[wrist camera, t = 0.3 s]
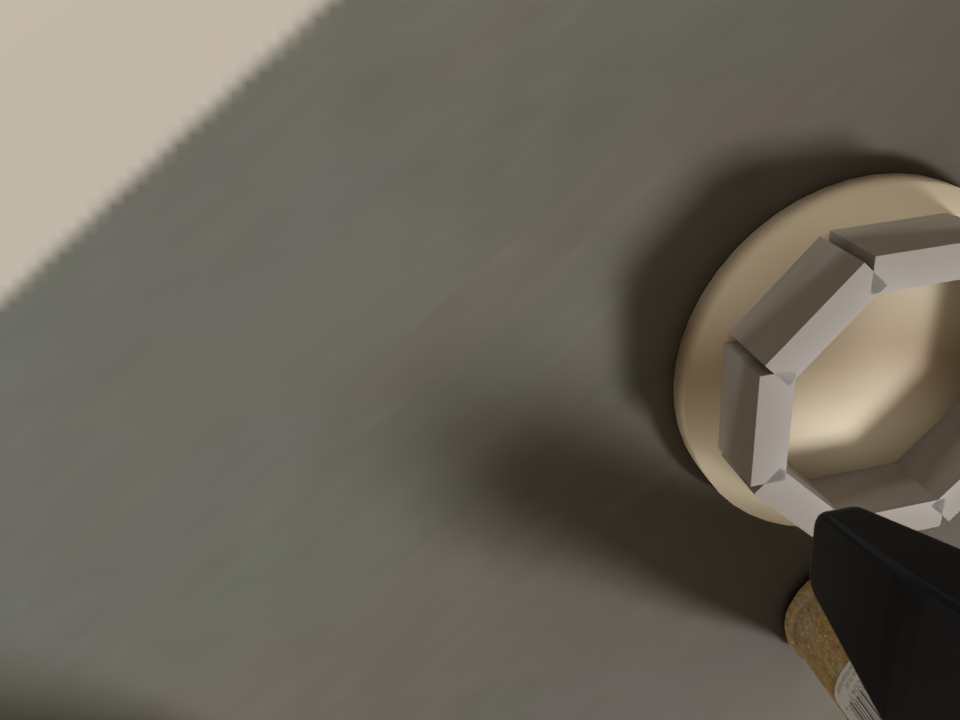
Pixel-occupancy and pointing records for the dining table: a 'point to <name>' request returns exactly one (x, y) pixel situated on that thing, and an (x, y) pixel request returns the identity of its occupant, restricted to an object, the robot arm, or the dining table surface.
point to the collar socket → (833, 358)
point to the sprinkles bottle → (826, 655)
